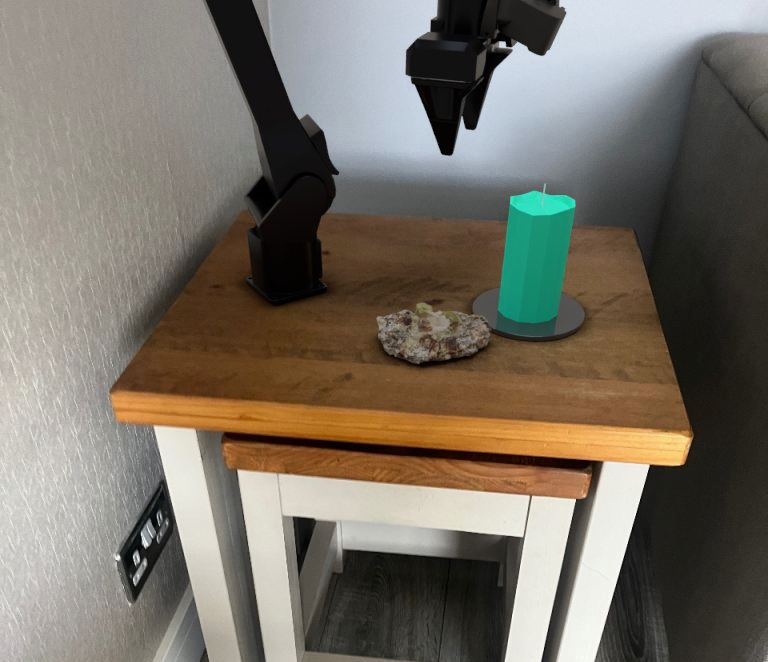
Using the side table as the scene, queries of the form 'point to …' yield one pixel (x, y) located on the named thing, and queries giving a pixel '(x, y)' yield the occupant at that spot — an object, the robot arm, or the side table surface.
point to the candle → (535, 256)
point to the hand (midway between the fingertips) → (459, 141)
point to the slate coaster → (556, 328)
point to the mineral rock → (432, 334)
